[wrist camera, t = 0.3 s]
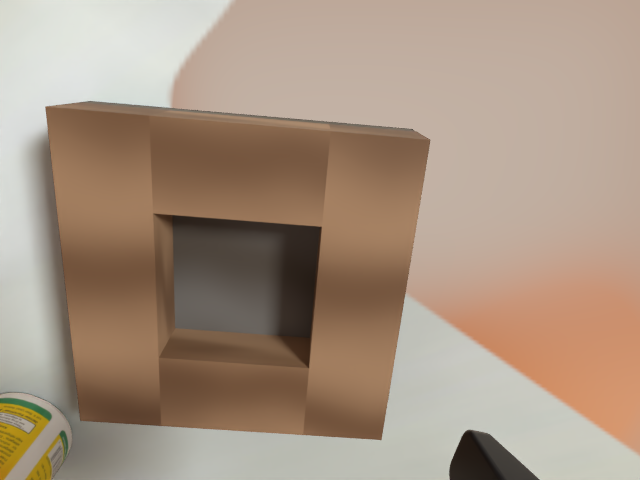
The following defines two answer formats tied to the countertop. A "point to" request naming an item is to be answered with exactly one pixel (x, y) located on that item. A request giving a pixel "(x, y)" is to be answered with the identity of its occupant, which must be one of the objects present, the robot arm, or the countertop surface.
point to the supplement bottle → (31, 438)
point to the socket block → (234, 265)
